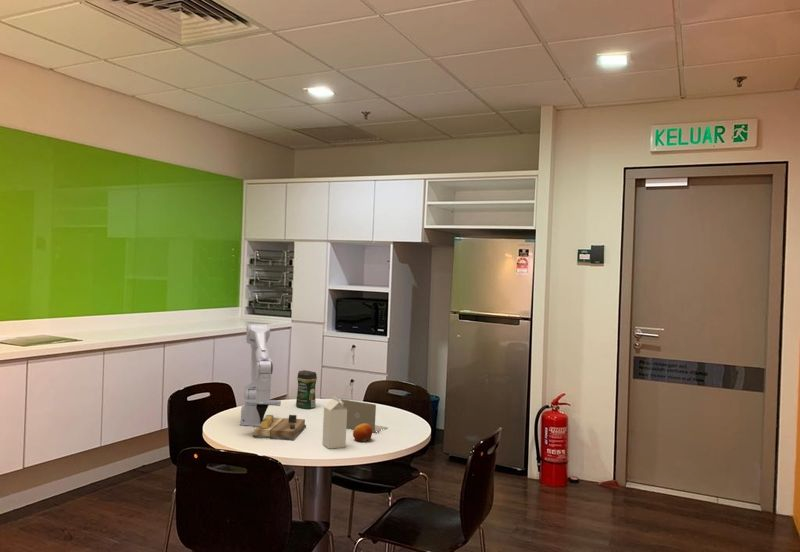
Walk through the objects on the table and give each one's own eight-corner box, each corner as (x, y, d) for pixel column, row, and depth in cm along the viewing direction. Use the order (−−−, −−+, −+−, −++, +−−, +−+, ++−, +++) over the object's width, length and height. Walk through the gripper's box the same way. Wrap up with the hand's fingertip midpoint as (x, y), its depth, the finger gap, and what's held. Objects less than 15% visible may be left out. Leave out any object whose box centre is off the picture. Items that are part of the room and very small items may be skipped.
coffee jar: (293, 407, 299) (294, 370, 299) (304, 404, 305) (305, 368, 305) (307, 410, 293) (309, 372, 293) (318, 407, 300) (319, 371, 300)
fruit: (368, 441, 236) (361, 422, 239) (354, 448, 240) (347, 429, 242) (380, 437, 243) (372, 418, 246) (366, 444, 247) (358, 426, 249)
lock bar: (266, 420, 253) (266, 414, 253) (273, 420, 253) (274, 415, 253) (260, 428, 240) (260, 422, 240) (268, 428, 240) (268, 422, 240)
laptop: (388, 429, 265) (389, 399, 265) (374, 435, 253) (375, 404, 254) (353, 423, 273) (355, 394, 273) (339, 428, 262) (340, 399, 262)
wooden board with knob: (252, 437, 239) (253, 421, 239) (268, 424, 261) (268, 410, 261) (293, 440, 238) (294, 424, 238) (305, 427, 260) (306, 412, 260)
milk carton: (328, 449, 228) (330, 400, 228) (322, 444, 234) (324, 396, 234) (345, 447, 231) (347, 399, 231) (338, 442, 237) (341, 395, 238)
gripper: (243, 391, 239) (241, 424, 239) (279, 392, 240) (278, 425, 240) (246, 387, 246) (245, 420, 246) (281, 389, 247) (280, 421, 247)
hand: (261, 422), depth 244 cm, fingers closed, pressing on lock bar
